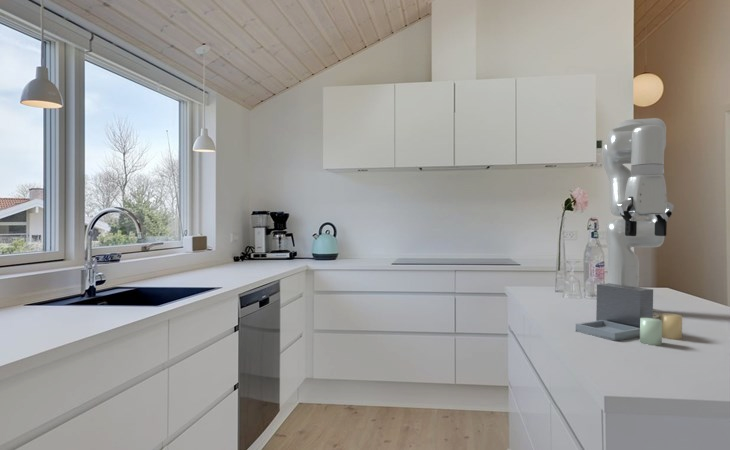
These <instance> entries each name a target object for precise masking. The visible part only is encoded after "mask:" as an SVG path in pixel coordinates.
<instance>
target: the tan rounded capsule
mask: <svg viewBox="0 0 730 450" xmlns="http://www.w3.org/2000/svg"><path fill="white" fill-rule="evenodd" d="M660 314H661V320H662V339H663V338H664V339H669V340H677V341H678V340H679V341H680V340H682V339H683V315H682V314H678V313H677V314H676V313H667V312H666V313H665V312H664V313H660Z"/></svg>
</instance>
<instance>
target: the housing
mask: <svg viewBox="0 0 730 450" xmlns="http://www.w3.org/2000/svg"><path fill="white" fill-rule="evenodd" d="M653 311H654V289H651V288H646V287H632V286H625V285H618V284H611V283H608V282H607V283H599V284H598V283H597V284H596V313H595V314H596V316H595V317H596V320H595V321H599V320H604V321H609V322H614V323H618V324H623V325H627V326H632V327H636V328H640V318H653Z"/></svg>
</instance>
